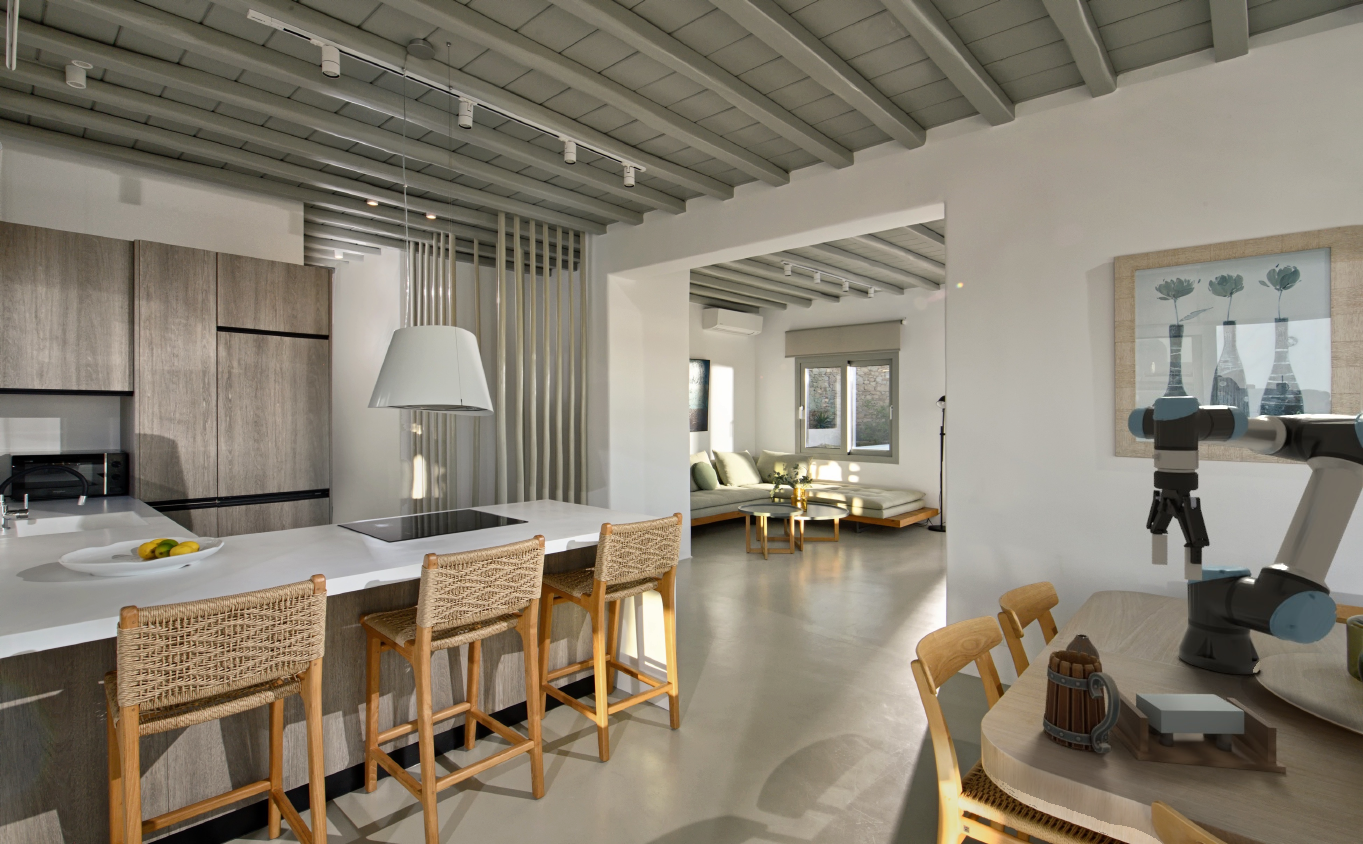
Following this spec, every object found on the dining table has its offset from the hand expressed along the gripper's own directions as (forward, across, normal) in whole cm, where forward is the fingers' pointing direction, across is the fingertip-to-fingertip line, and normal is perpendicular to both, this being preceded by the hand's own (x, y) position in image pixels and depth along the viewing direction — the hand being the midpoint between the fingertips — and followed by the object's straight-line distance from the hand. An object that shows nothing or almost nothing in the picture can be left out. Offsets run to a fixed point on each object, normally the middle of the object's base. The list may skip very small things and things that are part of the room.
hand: (1175, 571), depth 140 cm
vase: (+27, -11, -14) cm, 32 cm away
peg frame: (+27, +22, -8) cm, 36 cm away
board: (+23, +22, -8) cm, 33 cm away
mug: (+27, +25, -26) cm, 45 cm away
